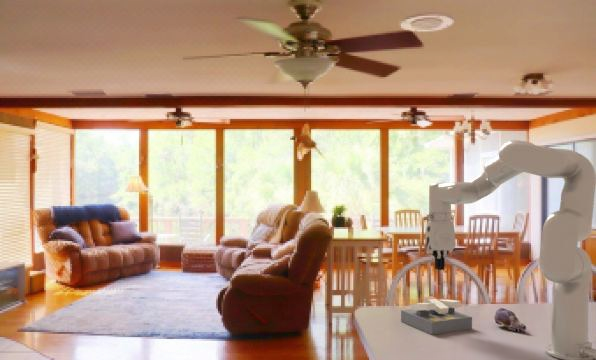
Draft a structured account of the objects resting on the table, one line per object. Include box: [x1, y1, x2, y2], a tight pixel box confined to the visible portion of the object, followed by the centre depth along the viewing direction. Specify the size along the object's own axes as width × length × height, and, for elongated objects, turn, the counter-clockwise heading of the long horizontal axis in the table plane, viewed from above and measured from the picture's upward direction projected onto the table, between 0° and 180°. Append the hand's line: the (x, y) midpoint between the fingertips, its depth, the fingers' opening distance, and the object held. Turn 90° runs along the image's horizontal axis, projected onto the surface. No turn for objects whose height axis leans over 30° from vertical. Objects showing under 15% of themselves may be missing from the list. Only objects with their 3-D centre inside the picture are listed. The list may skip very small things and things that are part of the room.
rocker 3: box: [437, 298, 462, 309], centre depth 184 cm, size 9×4×2 cm, turn 24°
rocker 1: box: [410, 302, 436, 310], centre depth 179 cm, size 9×4×2 cm, turn 24°
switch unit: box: [400, 307, 473, 336], centre depth 181 cm, size 17×17×5 cm
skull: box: [493, 307, 527, 332], centre depth 178 cm, size 12×8×6 cm, turn 13°
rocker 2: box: [422, 295, 449, 314], centre depth 181 cm, size 9×4×2 cm, turn 24°
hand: (439, 269), depth 184 cm, fingers closed
